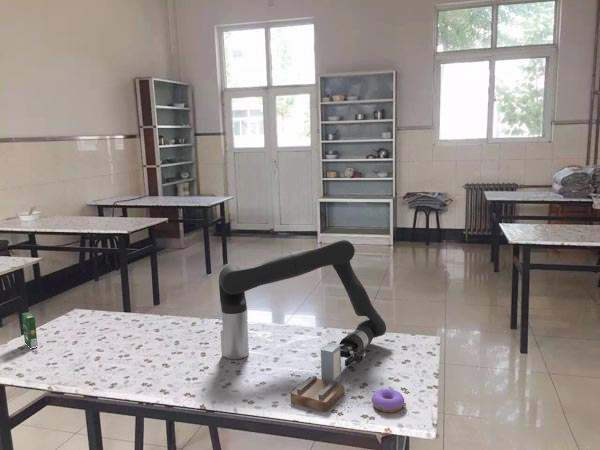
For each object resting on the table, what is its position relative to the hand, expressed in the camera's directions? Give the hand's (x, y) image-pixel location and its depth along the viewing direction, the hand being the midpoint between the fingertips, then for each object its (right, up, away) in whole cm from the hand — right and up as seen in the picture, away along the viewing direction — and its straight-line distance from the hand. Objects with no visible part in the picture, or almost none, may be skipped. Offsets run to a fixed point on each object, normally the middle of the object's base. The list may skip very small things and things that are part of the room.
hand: (334, 360), depth 164 cm
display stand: (-6, -8, -11) cm, 15 cm away
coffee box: (-118, -4, +37) cm, 124 cm away
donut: (+15, -9, -16) cm, 24 cm away
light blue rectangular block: (-1, -7, -1) cm, 7 cm away
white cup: (-37, 0, +51) cm, 63 cm away
